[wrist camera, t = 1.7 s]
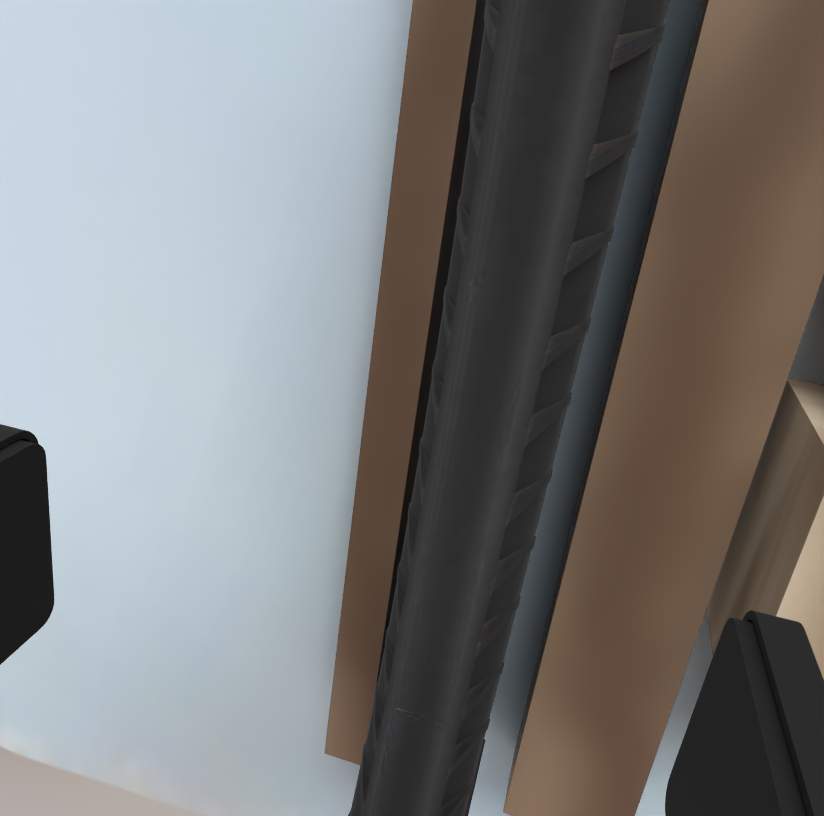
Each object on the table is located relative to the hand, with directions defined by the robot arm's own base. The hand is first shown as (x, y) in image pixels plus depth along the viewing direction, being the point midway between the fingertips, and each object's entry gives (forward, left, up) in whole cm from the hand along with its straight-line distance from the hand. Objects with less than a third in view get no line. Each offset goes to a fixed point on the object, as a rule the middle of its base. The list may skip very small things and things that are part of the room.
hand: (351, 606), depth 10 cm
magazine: (-1, 0, -15) cm, 15 cm away
